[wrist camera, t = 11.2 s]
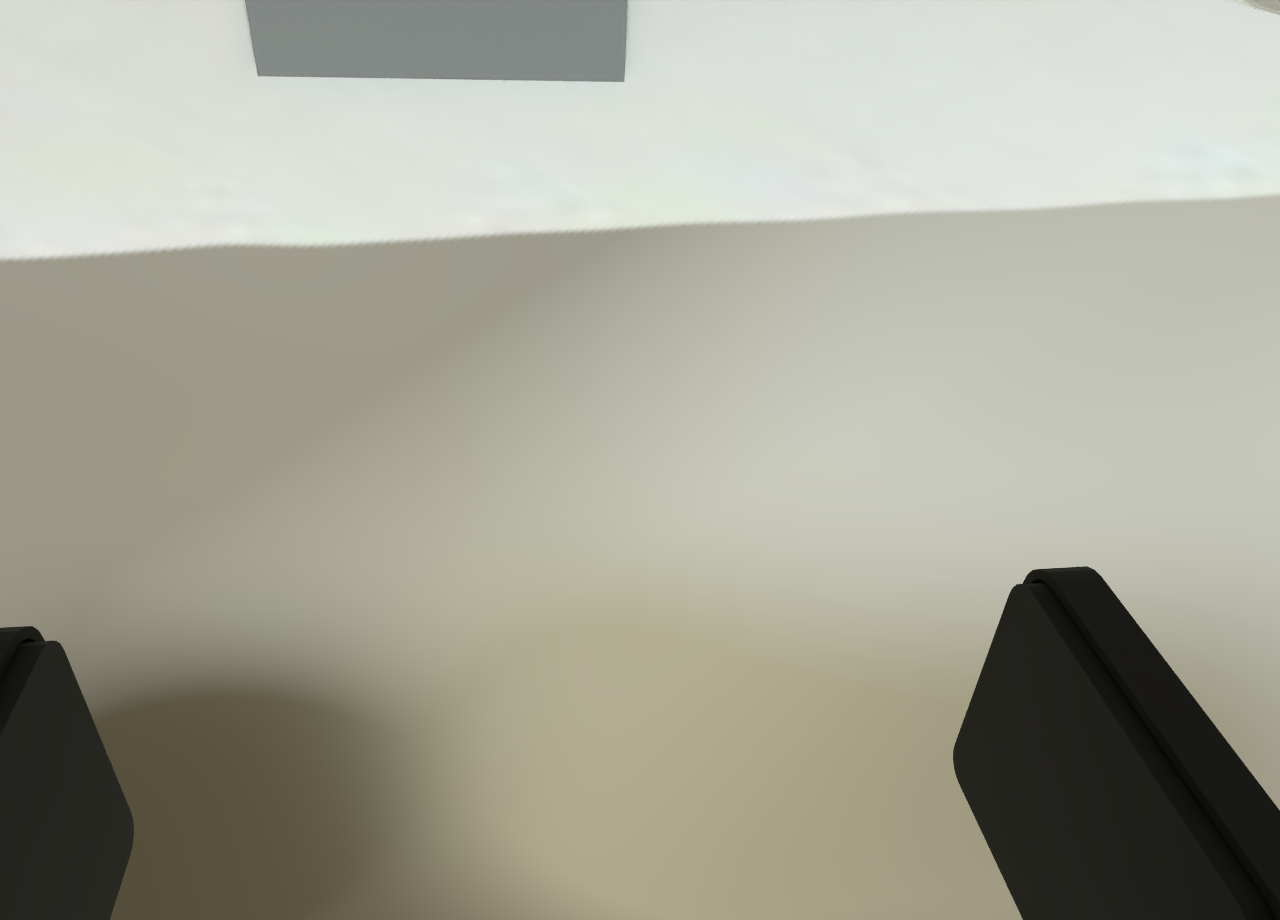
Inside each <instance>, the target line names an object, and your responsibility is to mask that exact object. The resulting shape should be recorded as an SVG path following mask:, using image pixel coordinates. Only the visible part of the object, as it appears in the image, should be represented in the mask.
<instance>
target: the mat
mask: <svg viewBox="0 0 1280 920" xmlns="http://www.w3.org/2000/svg"><path fill="white" fill-rule="evenodd" d="M245 3H246V8H247V14H248V20H249V26H250V32H251V38H252V44H253V50H254V56H255V62H256V68H257V74H258V76H284V77H348V78H411V79H474V80H538V81H601V82H624V74H625V48H626V22H627V0H245Z"/></svg>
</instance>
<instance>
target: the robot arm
mask: <svg viewBox="0 0 1280 920" xmlns="http://www.w3.org/2000/svg"><path fill="white" fill-rule="evenodd" d="M1237 1H1240V2H1242V3H1244V4H1246V5H1249V6H1251V7H1253V8H1256V9H1260V10H1263V11H1267V12H1271V13H1275V14H1278V15H1280V0H1237ZM953 762H954V769H955V773H956V777H957V779H958V782H959V784H960V786H961V789H962V791H963V793H964V795H965V797H966V799H967V801H968V803H969V805H970V808H971V810H972V812H973V814H974V816H975V818H976V820H977V823H978V825H979V827H980V829H981V831H982V833H983V835H984V837H985V840H986V842H987V844H988V846H989V848H990V850H991V852H992V854H993V857H994V859H995V861H996V863H997V865H998V867H999V869H1000V872H1001V874H1002V876H1003V878H1004V880H1005V882H1006V884H1007V887H1008V889H1009V891H1010V893H1011V895H1012V897H1013V899H1014V901H1015V904H1016V906H1017V907H1018V910H1019V912H1020V914H1021V916H1022V918H1023V920H1280V810H1279V809H1278V808H1277V806H1276V805H1275V804H1274V803H1273V801H1272V800H1271V799H1270V797H1269V796H1268V795H1267V793H1266V792H1265V791H1264V789H1263V788H1262V787H1261V785H1260V784H1259V783H1258V782H1257V780H1256V779H1255V778H1254V776H1253V775H1252V774H1251V772H1250V771H1249V770H1248V769H1247V767H1246V766H1245V765H1244V763H1243V762H1242V760H1241V759H1240V758H1239V757H1238V755H1237V754H1236V753H1235V751H1234V750H1233V749H1232V748H1231V746H1230V745H1229V743H1228V742H1227V741H1226V739H1225V738H1224V737H1223V736H1222V734H1221V733H1220V732H1219V730H1218V729H1217V728H1216V726H1215V725H1214V724H1213V722H1212V721H1211V720H1210V719H1209V717H1208V716H1207V715H1206V713H1205V712H1204V711H1203V709H1202V708H1201V707H1200V705H1199V704H1198V703H1197V701H1196V700H1195V699H1194V697H1193V696H1192V695H1191V694H1190V692H1189V691H1188V690H1187V688H1186V687H1185V686H1184V684H1183V683H1182V682H1181V680H1180V679H1179V678H1178V676H1177V675H1176V674H1175V673H1174V671H1173V670H1172V669H1171V667H1170V666H1169V665H1168V663H1167V662H1166V661H1165V660H1164V658H1163V657H1162V656H1161V654H1160V653H1159V652H1158V650H1157V649H1156V648H1155V646H1154V645H1153V644H1152V643H1151V641H1150V640H1149V638H1148V637H1147V636H1146V634H1145V633H1144V632H1143V631H1142V629H1141V628H1140V627H1139V625H1138V624H1137V623H1136V621H1135V620H1134V619H1133V618H1132V616H1131V615H1130V614H1129V612H1128V611H1127V610H1126V609H1125V607H1124V606H1123V604H1122V603H1121V602H1120V600H1119V599H1118V598H1117V597H1116V595H1115V594H1114V593H1113V591H1112V590H1111V589H1110V587H1109V586H1108V585H1107V583H1106V582H1105V581H1104V580H1103V578H1102V577H1101V576H1100V575H1099V574H1098V573H1097V572H1096V571H1095V570H1093V569H1091V568H1089V567H1071V568H1070V567H1069V568H1052V569H1037V570H1032V571H1031V572H1030V573H1029V574H1028V575H1027V576H1026V578H1025V580H1024V582H1023V584H1017V585H1016V586H1014V587H1013V588H1012V590H1011V592H1010V594H1009V597H1008V599H1007V602H1006V605H1005V608H1004V610H1003V613H1002V616H1001V619H1000V622H999V624H998V627H997V630H996V633H995V635H994V638H993V641H992V644H991V647H990V649H989V652H988V655H987V657H986V660H985V663H984V666H983V668H982V671H981V674H980V677H979V679H978V682H977V685H976V688H975V691H974V693H973V696H972V699H971V701H970V705H969V707H968V710H967V712H966V716H965V718H964V721H963V724H962V726H961V729H960V732H959V734H958V738H957V740H956V743H955V746H954V751H953ZM133 836H134V826H133V818H132V814H131V811H130V808H129V806H128V804H127V801H126V799H125V797H124V794H123V792H122V789H121V787H120V784H119V782H118V779H117V777H116V775H115V772H114V770H113V767H112V765H111V762H110V760H109V758H108V755H107V753H106V750H105V748H104V746H103V743H102V741H101V738H100V736H99V733H98V731H97V729H96V726H95V724H94V721H93V719H92V716H91V714H90V712H89V709H88V707H87V704H86V702H85V699H84V697H83V695H82V692H81V690H80V687H79V685H78V683H77V680H76V678H75V675H74V673H73V671H72V668H71V666H70V663H69V661H68V658H67V656H66V653H65V651H64V649H63V647H62V646H61V644H60V643H58V642H57V641H45V640H44V639H43V637H42V635H41V633H40V632H39V631H38V630H37V629H36V628H34V627H32V626H30V627H29V626H27V627H26V626H25V627H8V628H0V920H110V917H111V914H112V911H113V907H114V904H115V901H116V898H117V895H118V892H119V889H120V886H121V882H122V879H123V876H124V873H125V870H126V867H127V863H128V860H129V857H130V854H131V850H132V845H133Z"/></svg>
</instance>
